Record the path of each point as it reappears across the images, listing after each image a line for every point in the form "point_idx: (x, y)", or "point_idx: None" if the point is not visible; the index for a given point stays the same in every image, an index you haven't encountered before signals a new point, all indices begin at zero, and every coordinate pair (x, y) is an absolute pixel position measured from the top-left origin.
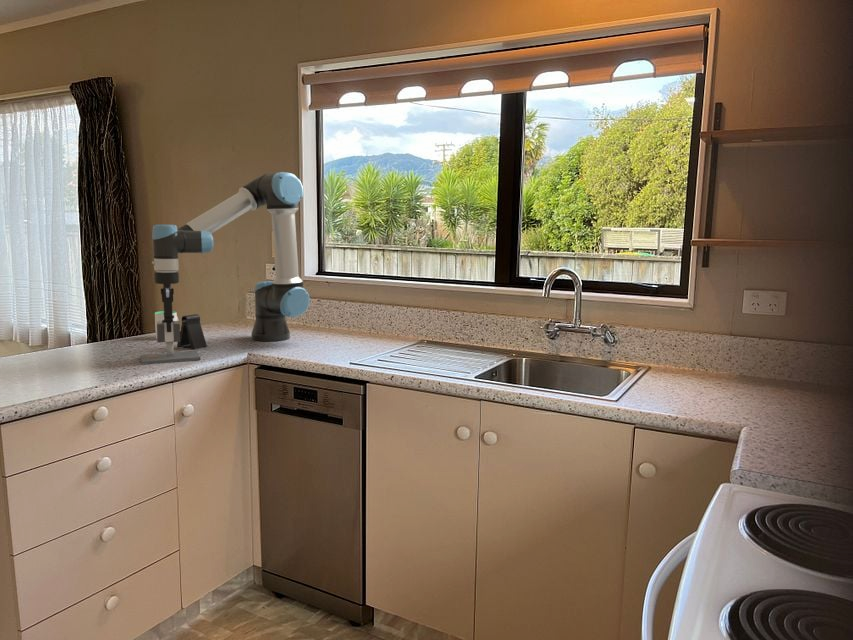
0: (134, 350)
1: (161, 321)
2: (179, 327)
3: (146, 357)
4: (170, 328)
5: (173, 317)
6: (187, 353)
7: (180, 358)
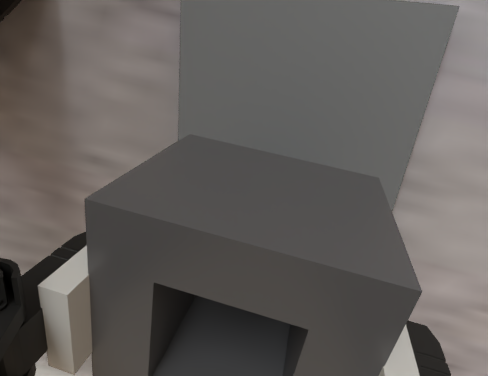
0: (22, 249)
1: (100, 373)
2: (404, 257)
3: None
4: (446, 374)
5: (19, 283)
6: (256, 66)
7: (406, 151)
